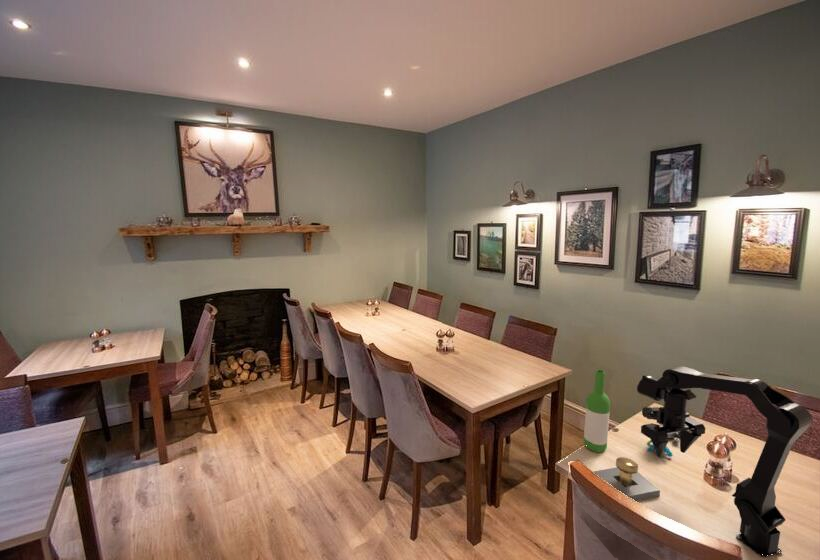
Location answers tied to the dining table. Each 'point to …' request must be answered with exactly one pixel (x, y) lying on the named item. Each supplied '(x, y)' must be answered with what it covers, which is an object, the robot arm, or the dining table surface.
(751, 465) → the dining table surface
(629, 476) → the door knob
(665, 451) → the blue plastic angular piece
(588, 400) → the wine bottle
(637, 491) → the housing plate
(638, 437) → the dining table surface
